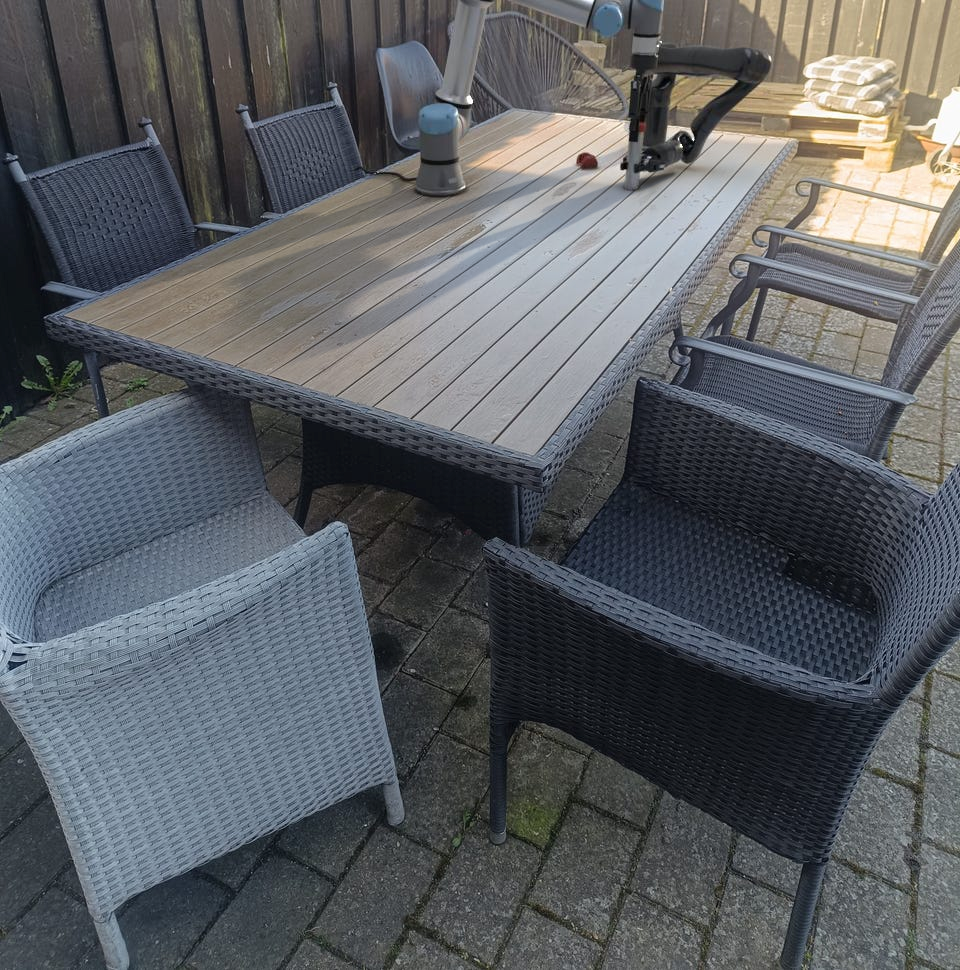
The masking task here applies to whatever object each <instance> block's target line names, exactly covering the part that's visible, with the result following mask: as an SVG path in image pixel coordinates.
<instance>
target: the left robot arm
mask: <svg viewBox="0 0 960 970" xmlns="http://www.w3.org/2000/svg"><path fill="white" fill-rule="evenodd" d="M507 1H508V2H510V3H514V4H516V5H520V6H523V7H525V8H528V9H531V10H534V11H536V12H539V13H543V14H546V15H548V16H550V17H554V18H556V19H560V20H563V21H566V22H568V23H571V24H574V25H577V26H580V27H583V28H585V29H587V30H590V31H593V32H595V33H597V34H598V35H599V36H601V37H603V38H609V37H613V36H614V35H616V34H617V33H619V32H620V31H621V30H625V29H626V30H633V32H632V33H633V34H632V41H631V52H632V53H631V55H630V68H631V69H632V70H635V74H634V76H633V80H631V81H630V94H629V95H630V96H629V104H628V115H627V119H630V120H629V125H630V130H629V129H628V131H629V133H628V142H629V141H630V142H638V136H639V127H640V122H644V123H645V120H646V115H645V114H649V112H650V111H648V110H649V105H650V96H651V87H652V81H653V80H654V74H650V70H653V69H656V68H657V61H658V55H657V54H656V53H657V52H658V50H659V45H660V44H661V43H662V41H661V31H662V25H663V24H662V23H663V16H664V5H665V4H664V3H665V0H507ZM494 3H495V0H457V4H456V10H455V14H454V15H455V16H454V21H453V24H452V25H453V26H452V31H451V37H450V42H449V47H448V53H447V58H446V64H445V70H444V75H443V79H442V84H441V87H440V88H439V89H438V90H436V92H435V95H434V101H433V103H432V104H429V105H425V106H423V107H422V108H421V109H420V110H419V112H418V119H417V120H418V121H417V123H418V134H419V135H418V136H419V138H418V139H419V157H420V158H419V159H420V161H419V162H420V164H419V168H418V172H417V176H416V177H406V176H404V175H403V174H401V173H399V172H395V171H372V170H368V169H366V168H365V167H364V166H362V165H357V166H356V168H355V169H354V170H355V171H359V170H361V171H362V172H364V173H365V174H368V175H373V176H395V177H399V178H400V179H401V180H402V181H406V182H415V185H414V186H415V192H417V193H418V194H420V195H424V196H430V197H450V196H455V195H459V194H461V193H463V192H464V191H466V181H465V179H464V176H463V172H462V169H461V165H460V144H459V143H460V141H461V140H462V139H464V137H465V136H466V135H467V134H468V132H469V131H470V128H471V125H472V110H473V103H474V100H473V99H472V96H471V94H470V93H471V89H472V84H473V80H474V74H475V70H476V66H477V61H478V55H479V50H480V45H481V40H482V36H483V31H484V27H485V21H486V16H487V11H488V8H489V7H491V6H492V5H493V4H494ZM643 138H644V137H643ZM377 172H379V173H377ZM374 173H376V174H374Z"/></svg>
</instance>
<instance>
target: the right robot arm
mask: <svg viewBox="0 0 960 970" xmlns="http://www.w3.org/2000/svg"><path fill="white" fill-rule="evenodd" d="M656 54H657V55H658V61H657V68H656V69H653V70H650V74H653V75H656V77H654V78H653V80H652V87H651V96H650V105H649V110H648V111H650V112H649V114H645V115H646V120H645V123H646V127H645V131H644V138H643V147H642V156H641V164H638V165H636V166H635V167H634V173H636V174H637V173H639V172H640V173H641V172H643V173H646V172H647V173H655V172H661V171H665V169H666V168H668V167H669V166H671V165H674V164H677V163H678V162H679V161H681V162H682V163H683V164H686V165H689V164H693V163H694V162H696V161H697V160H698V159H699V157H700V155H701V153H702V151H703V149H704V146H705V144H706V142H707V140H708V138H709V137H710V135H711V134H712V133H713V131H715V129H716V128H717V127H718V125H719V124H720V123H721V121H722V120H723V119H724V118H725V117H726V116H727V115H728V114H729V113H730V112H731V111H732V110H733V109H734V108H735V107H736V106H737V105H739V104H740V102H742V101H743V100H744V99H745V98H746V97H747V96H749V94H750V93H751V92H753V91H754V90H755V89H756V88H758V87H759V85H761V84H762V82H764V80H765V79H766V78H767V77H768V75H769V74H770V71H771V70H772V69H771V68H772V58H771V56H770V54H769V53H767V52H765V51H763V50H760V49H757V48H754V47H750V46H739V47H738V46H737V47H731V48H730V47H729V48H728V47H727V48H721V47H718V46H713V45H701V44H696V45H695V44H694V45H685V46H677V45H676V44H675V43H674V42H668V41H667V42H661V44H660V45H659V50H658V52H657V53H656ZM677 75H678V76H682V77H690V78H695V79H710V78H712V77H715V76H721V77H726V78H728V79H732V80H735V81H736V82H735V83H734V84H733V85H732V86H730V87H729V88H728V89H726V90H725V91H723V92H721V94H719V95H717V96H716V97H714V98H713V99H712V100H710V101H708V102H707V103H706V104H704V106H703V107H702V108H701V110H699V112H698V113H697V115H696V116H695V117H694V118H693V120H692V121H691V122H690V126H689V128H690V131H691V133H692V135H693V136H692V135H691V134H690V133H689V132H688V131H686V130H679V131H677V133H675V134H674V135H673V136H672V137H671V138H670V140H667V134H668V128H669V127H668V125H669V119H670V110H671V109H670V108H671V101H672V93H673V90H674V87H675V85H676V79H677ZM626 164H627V154H626V155H625V156H623V158H622V162H620V164H619V169H620V171H626Z"/></svg>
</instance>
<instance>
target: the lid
mask: <svg viewBox="0 0 960 970" xmlns="http://www.w3.org/2000/svg"><path fill="white" fill-rule="evenodd" d="M645 127H646V123H644V122H640V127H639V133H640V132H644V131H645ZM629 130H630V124H628V131H629Z"/></svg>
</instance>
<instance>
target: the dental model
mask: <svg viewBox="0 0 960 970" xmlns="http://www.w3.org/2000/svg"><path fill="white" fill-rule="evenodd" d="M575 162H576V163H575V164H576V165H580V168H581V169H593V168H594V169H595V168H598V167H599V162H598V160H597V158H596V155H593V154H590V152H587V151H585V152H581V153H580V154H578V155H577V157H576V160H575Z"/></svg>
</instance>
